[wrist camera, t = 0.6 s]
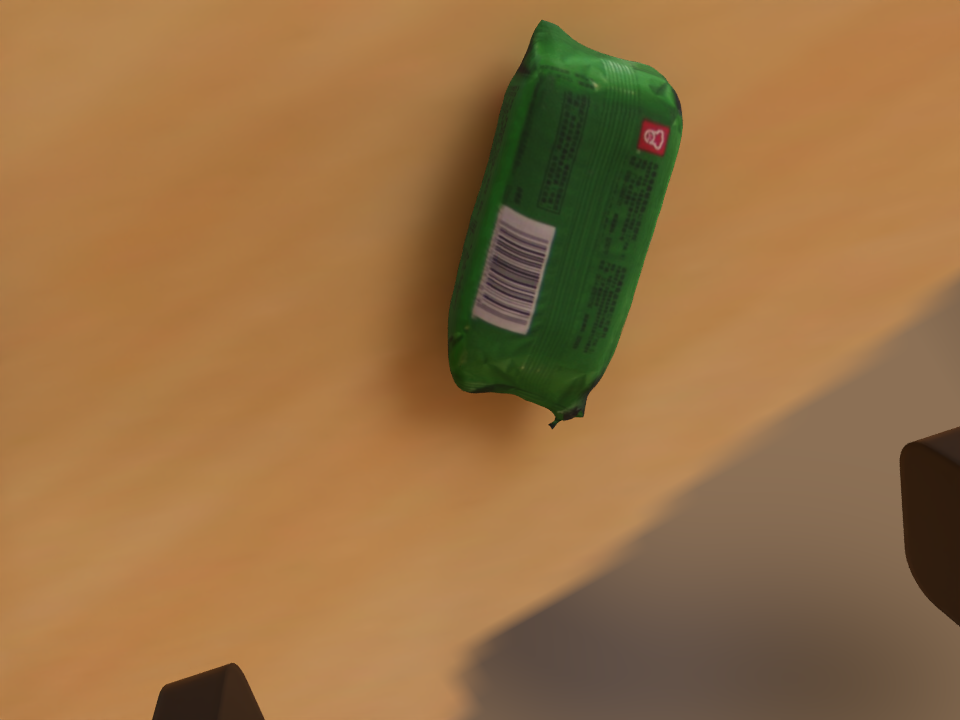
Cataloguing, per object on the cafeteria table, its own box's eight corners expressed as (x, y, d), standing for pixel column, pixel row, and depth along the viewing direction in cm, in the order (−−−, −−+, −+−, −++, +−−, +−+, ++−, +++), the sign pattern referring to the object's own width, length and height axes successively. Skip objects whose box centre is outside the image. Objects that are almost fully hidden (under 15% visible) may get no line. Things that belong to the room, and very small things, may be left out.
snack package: (418, 373, 37) (433, 418, 32) (512, 17, 32) (546, 5, 28) (561, 402, 38) (596, 448, 34) (667, 68, 34) (725, 65, 29)
